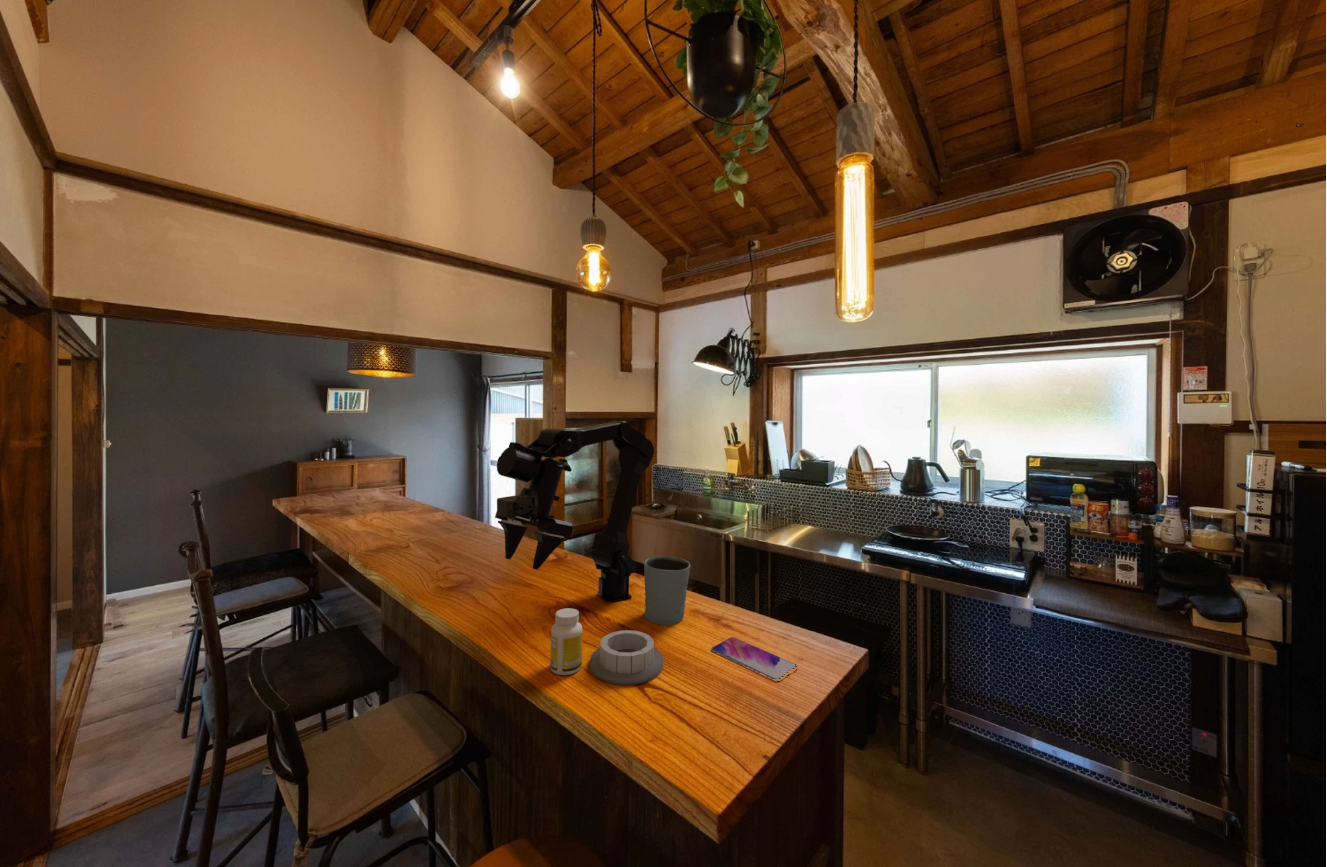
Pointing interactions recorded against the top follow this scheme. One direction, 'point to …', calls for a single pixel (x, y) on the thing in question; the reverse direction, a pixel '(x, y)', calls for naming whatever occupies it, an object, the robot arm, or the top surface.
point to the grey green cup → (665, 589)
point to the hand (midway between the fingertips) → (521, 564)
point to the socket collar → (626, 658)
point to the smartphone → (753, 657)
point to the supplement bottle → (566, 642)
